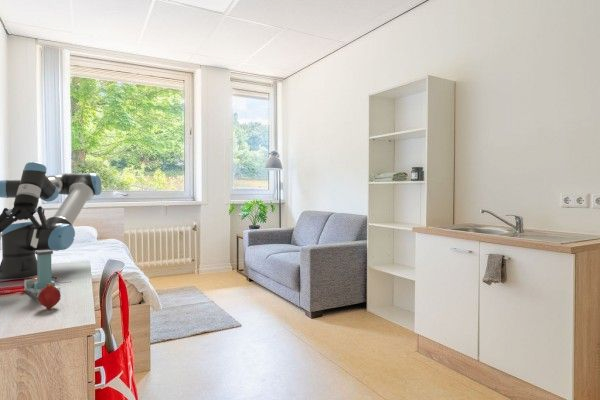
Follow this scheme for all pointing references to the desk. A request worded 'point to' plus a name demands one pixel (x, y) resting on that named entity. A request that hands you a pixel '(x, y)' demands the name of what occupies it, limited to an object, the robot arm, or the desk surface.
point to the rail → (30, 288)
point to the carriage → (43, 269)
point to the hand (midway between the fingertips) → (13, 247)
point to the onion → (49, 296)
